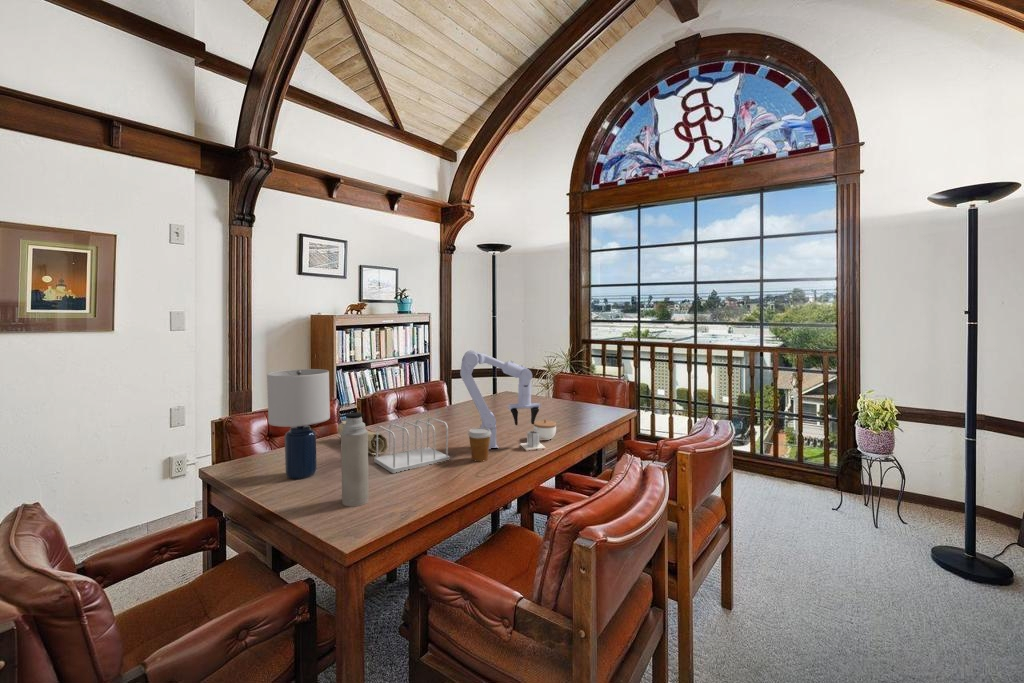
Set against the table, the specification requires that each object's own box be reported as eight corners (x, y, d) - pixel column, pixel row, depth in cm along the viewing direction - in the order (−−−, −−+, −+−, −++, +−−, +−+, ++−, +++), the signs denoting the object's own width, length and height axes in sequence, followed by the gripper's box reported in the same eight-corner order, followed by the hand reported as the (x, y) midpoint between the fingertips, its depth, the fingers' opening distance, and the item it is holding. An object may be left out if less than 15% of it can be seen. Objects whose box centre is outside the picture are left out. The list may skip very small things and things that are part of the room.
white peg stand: (526, 451, 195) (526, 442, 195) (520, 445, 204) (520, 436, 204) (545, 449, 198) (545, 440, 197) (539, 444, 206) (539, 435, 206)
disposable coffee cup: (464, 457, 186) (464, 429, 186) (485, 454, 191) (485, 426, 190) (473, 464, 178) (473, 434, 177) (495, 460, 182) (495, 431, 182)
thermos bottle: (347, 496, 146) (345, 411, 145) (371, 496, 146) (370, 410, 145) (338, 506, 138) (336, 416, 137) (364, 506, 139) (363, 416, 137)
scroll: (358, 433, 219) (350, 415, 215) (392, 448, 194) (384, 428, 191) (338, 445, 212) (330, 427, 209) (371, 462, 188) (362, 442, 184)
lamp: (274, 469, 172) (271, 368, 170) (331, 463, 179) (329, 366, 177) (266, 488, 153) (262, 374, 151) (330, 481, 160) (328, 372, 158)
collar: (529, 447, 197) (529, 434, 197) (525, 444, 202) (525, 431, 202) (540, 446, 198) (540, 433, 198) (536, 443, 203) (536, 430, 203)
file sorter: (392, 474, 167) (392, 432, 166) (373, 462, 180) (373, 424, 180) (450, 460, 183) (450, 422, 182) (428, 450, 196) (428, 415, 196)
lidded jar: (531, 441, 211) (531, 421, 211) (536, 435, 222) (536, 416, 221) (553, 443, 208) (553, 423, 208) (558, 437, 218) (558, 418, 218)
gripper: (511, 396, 197) (511, 427, 198) (542, 395, 200) (542, 425, 201) (507, 393, 204) (507, 423, 204) (538, 392, 207) (537, 421, 208)
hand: (524, 424), depth 203 cm, fingers open, 7 cm apart
